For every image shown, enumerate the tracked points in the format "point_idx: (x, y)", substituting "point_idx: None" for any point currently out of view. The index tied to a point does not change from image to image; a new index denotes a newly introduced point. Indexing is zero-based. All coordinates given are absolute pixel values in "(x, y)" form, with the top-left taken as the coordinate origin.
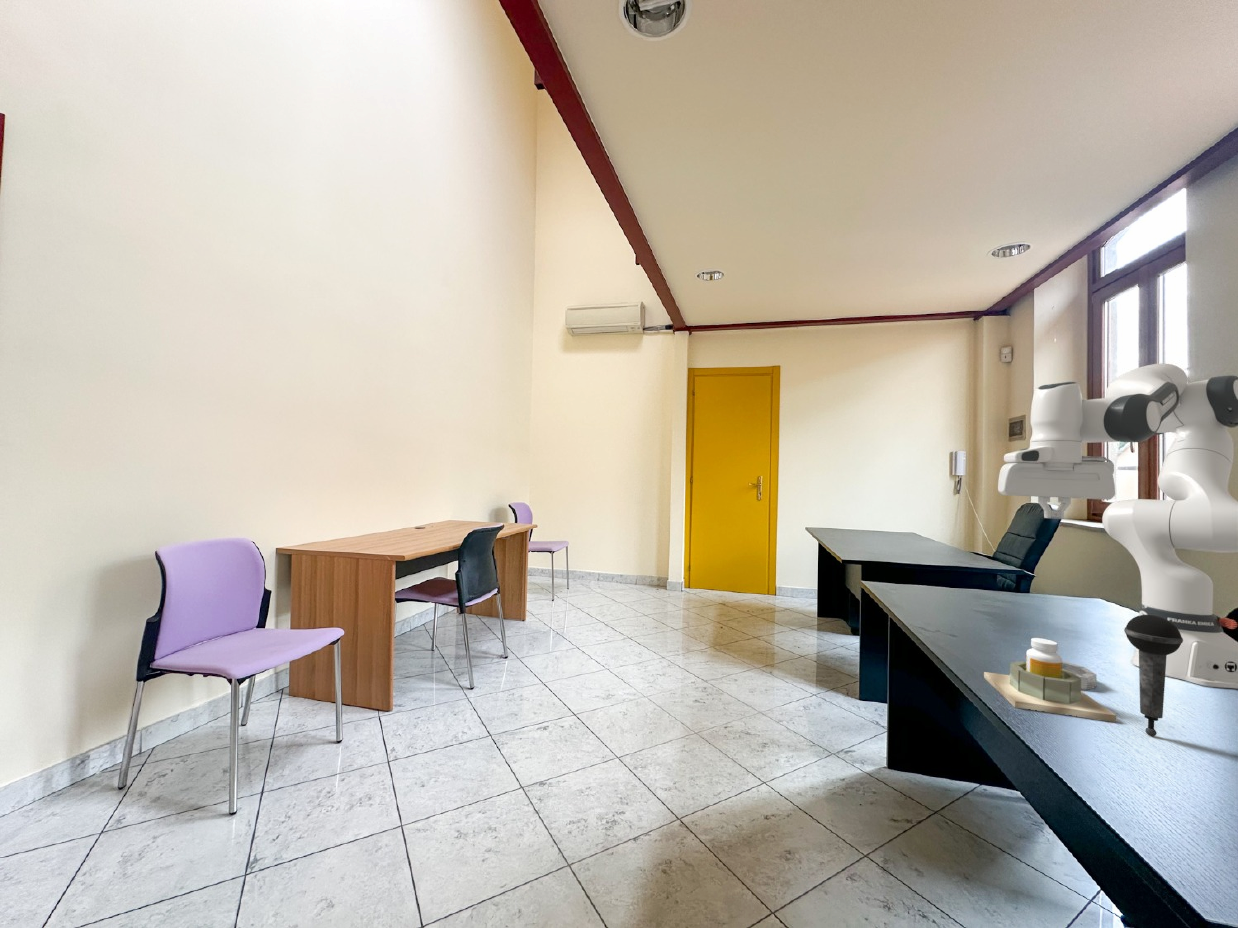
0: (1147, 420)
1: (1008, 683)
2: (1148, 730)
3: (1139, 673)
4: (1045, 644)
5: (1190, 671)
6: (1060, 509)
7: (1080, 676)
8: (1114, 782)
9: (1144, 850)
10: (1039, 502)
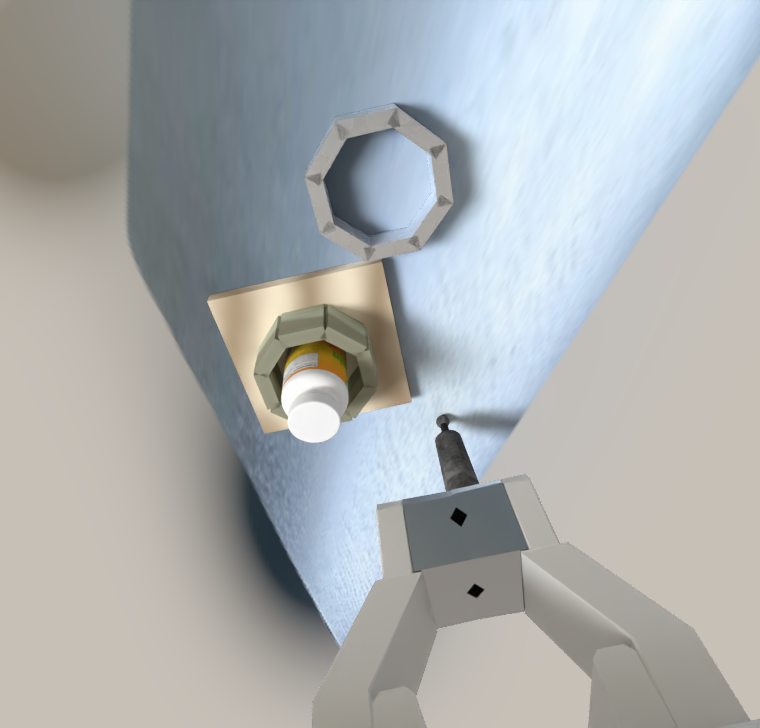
0: None
1: (256, 349)
2: (438, 426)
3: (446, 488)
4: (313, 441)
5: None
6: (536, 613)
7: (407, 250)
8: (348, 558)
9: (338, 630)
10: (326, 705)
